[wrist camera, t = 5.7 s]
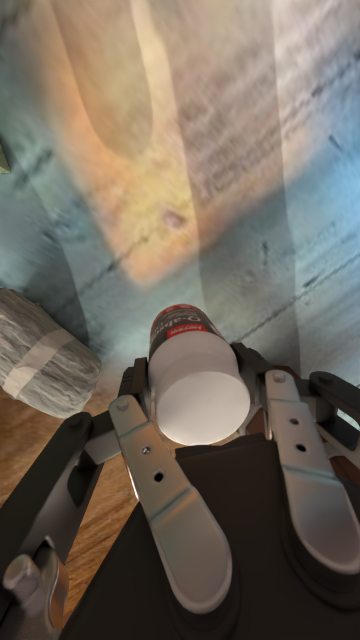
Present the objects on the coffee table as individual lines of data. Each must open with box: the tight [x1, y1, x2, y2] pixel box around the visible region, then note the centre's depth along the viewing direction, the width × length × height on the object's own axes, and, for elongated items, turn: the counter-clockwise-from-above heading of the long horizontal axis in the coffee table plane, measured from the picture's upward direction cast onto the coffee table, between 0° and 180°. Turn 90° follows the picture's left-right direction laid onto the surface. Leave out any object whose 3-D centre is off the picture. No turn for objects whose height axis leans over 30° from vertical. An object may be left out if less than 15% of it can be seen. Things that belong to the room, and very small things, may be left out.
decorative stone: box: [0, 288, 101, 418], centre depth 20 cm, size 13×10×6 cm
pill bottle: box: [148, 304, 250, 446], centre depth 14 cm, size 6×6×10 cm
